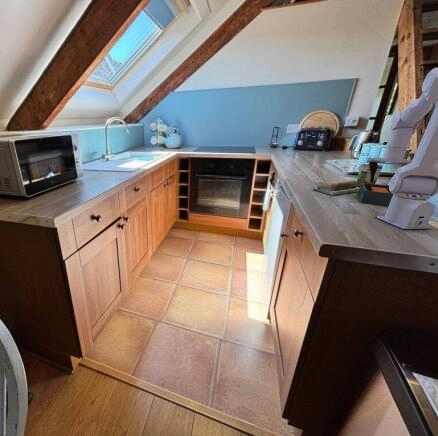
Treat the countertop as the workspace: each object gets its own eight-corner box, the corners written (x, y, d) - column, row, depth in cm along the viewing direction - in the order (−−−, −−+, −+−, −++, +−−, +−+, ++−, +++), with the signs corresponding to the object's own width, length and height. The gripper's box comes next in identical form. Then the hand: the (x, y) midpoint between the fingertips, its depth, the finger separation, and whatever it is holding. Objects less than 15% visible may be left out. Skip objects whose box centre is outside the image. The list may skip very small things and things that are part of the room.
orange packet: (387, 203, 94) (390, 194, 92) (372, 201, 96) (375, 193, 95) (382, 196, 102) (385, 188, 101) (368, 194, 104) (371, 186, 103)
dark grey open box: (401, 207, 91) (406, 195, 89) (360, 202, 97) (365, 190, 95) (393, 197, 102) (397, 186, 100) (357, 193, 108) (361, 182, 106)
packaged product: (335, 185, 103) (314, 180, 112) (332, 196, 105) (311, 190, 114) (365, 181, 108) (343, 176, 117) (362, 191, 110) (340, 186, 119)
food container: (362, 182, 124) (368, 163, 120) (376, 185, 119) (383, 165, 115) (346, 185, 120) (353, 165, 116) (361, 188, 115) (368, 167, 111)
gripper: (421, 147, 90) (406, 182, 95) (370, 145, 98) (359, 178, 103) (426, 149, 85) (411, 186, 90) (372, 147, 93) (361, 182, 98)
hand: (383, 182), depth 96 cm, fingers open, 7 cm apart
